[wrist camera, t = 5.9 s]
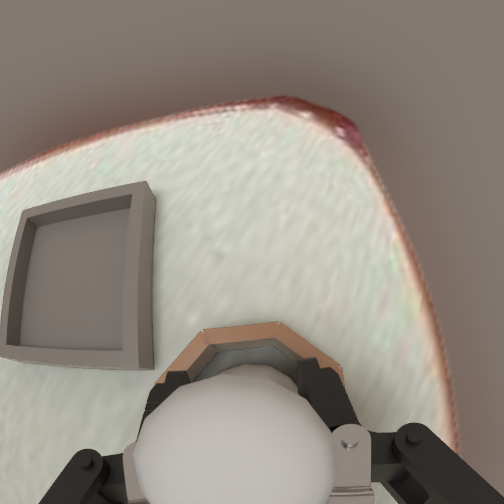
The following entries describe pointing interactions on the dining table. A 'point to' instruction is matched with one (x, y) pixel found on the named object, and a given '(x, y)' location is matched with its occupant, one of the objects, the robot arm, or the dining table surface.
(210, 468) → the salt shaker
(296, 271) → the dining table surface
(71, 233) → the tray
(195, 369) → the cup ring
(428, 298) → the dining table surface
